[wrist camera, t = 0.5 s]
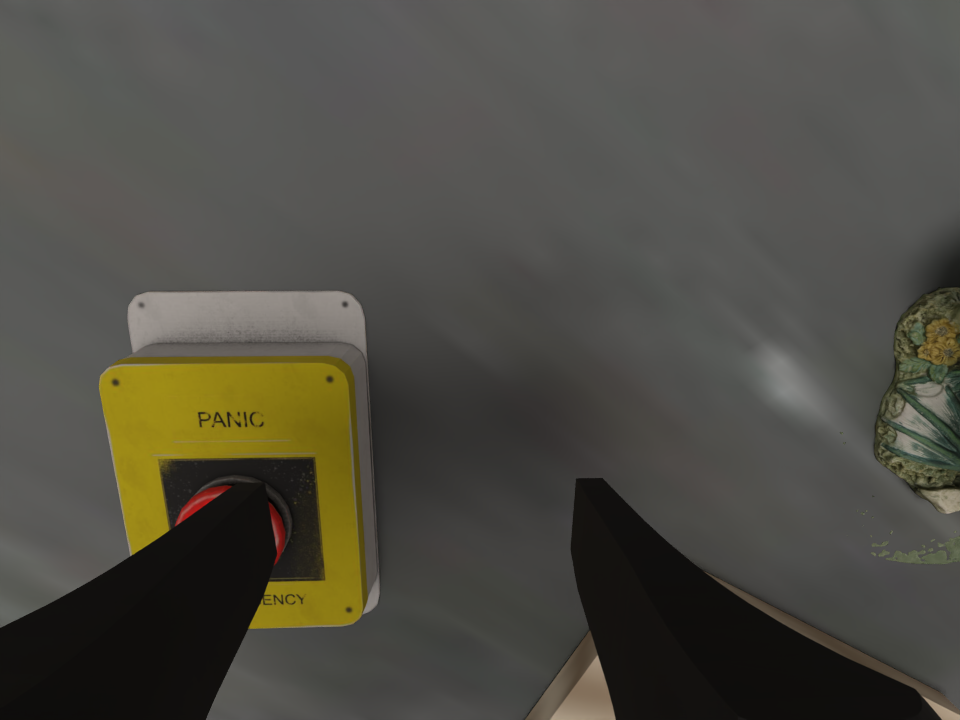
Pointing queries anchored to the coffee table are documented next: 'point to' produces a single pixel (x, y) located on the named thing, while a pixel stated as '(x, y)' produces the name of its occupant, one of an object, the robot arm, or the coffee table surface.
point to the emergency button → (254, 434)
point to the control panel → (586, 700)
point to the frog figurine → (925, 411)
